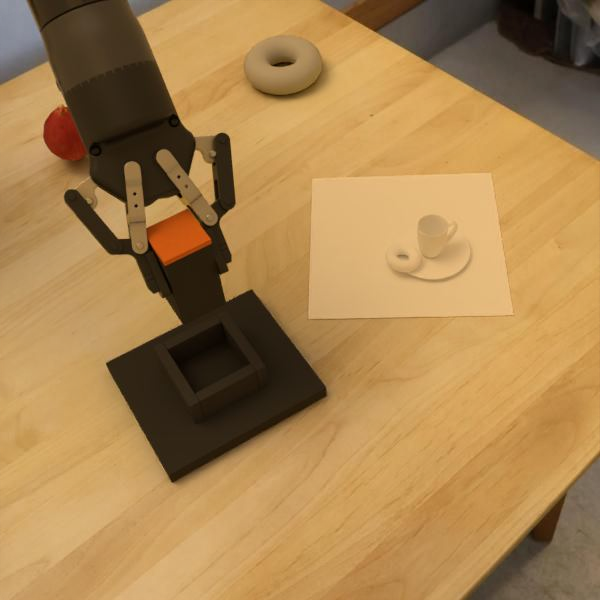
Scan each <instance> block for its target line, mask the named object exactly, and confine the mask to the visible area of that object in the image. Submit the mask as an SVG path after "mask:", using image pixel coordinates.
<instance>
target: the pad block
mask: <svg viewBox="0 0 600 600" xmlns="http://www.w3.org/2000/svg"><path fill="white" fill-rule="evenodd" d="M146 231H147V240H148V247H149V249H150V251H154V254H155V256H156V259H157V261H158V263H159V266H160V268H161V271H162V273H163V275H164V278H165V280H166V282H167V285H168V287H169V290H170V292H171V295H170V296H168V297H166V298H165V300H166V302H167V303H168V304H169V306H170V307H171V309H172V310H173V312H174V313H175V315H176V316H177V318H178V320H179V321H180V323H181V325H182V324H183V325H186V324H188V323H190V322H192V321H194V320H196V319H198V318H200V317H202V316H204V315H206V314H207V313H209V312H211V311H213V310H215V309H217V308H219V307H221V306H223V305H225V304H226V302H227V301H226V296H225V293H224V287H223V284H222V280H221V275H219V273H218V269H217V264H216V260H215V259H216V258H215V254H214V250H213V246H212V242H211V239H210V237H209V236H208V235H207V233H206V232H205V231H204V229H203V228H202V227H201V225H200V224H199V223H198V221H197V220H196V219H195V217H194V216H193V215H192V213H191V212H190V211H189V209H187V208H186V209H184V210H181V211H179V212H177V213H175V214H173V215H171V216H169V217H166V218H164V219H162V220H160V221H158V222H155V223H154V224H152V225H150V226H148V227H147V226H146Z"/></svg>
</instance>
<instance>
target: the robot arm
mask: <svg viewBox="0 0 600 600" xmlns="http://www.w3.org/2000/svg"><path fill="white" fill-rule="evenodd" d="M25 1H26V4H27V6H28V8H29V10H30V13H31V15H32V18H33V20H34V23H35V25H36V27H37V30H38V32H39V34H40V37H41V40H42V44H43V47H44V50H45V54H46V57H47V61H48V64H49V66H50V69H51V71H52V74H53V76H54V79H55V84H56V87H57V88H58V90H59V92H60V93H61V95H62V97H63V100H64V102H65V104H66V107H68V109H69V112H70V114H71V116H72V119H73V121H74V123H75V126H76V128H77V130H78V133H79V135H80V138H81V140H82V142H83V145H84V147H85V149H86V152H87V157H88V161H89V169H88V177H86V178H85V179H84V180H83V181H82V182H80V183H79V184H77V186H75V187H74V188H70V189H67V190H66V191H65V192H64V194H63V201H64V204H65V205H66V206H67V207H68V209H69V210H70V211H71V212H72V213H73V214H74V216H76V218H77V219H78V220H79V222H80V223H81V224H82V225H83V226H84V227H85V228H86V229H87V231H88V232H89V233H90V234H91V235H92V237H93V238H94V239H95V240H96V241H97V243H98V244H100V246H101V247H102V248H103V250H105V252H106V253H107V254H108V255H110V256H122V255H123V256H125V255H126V256H127V255H128V256H131V257H132V258H134V260H135V262H136V264H137V267H138V269H139V271H140V274H141V276H142V279H143V281H144V283H145V286H146V288H147V289H148V291H149V292H151V294H153V295H155V294H157V293H158V294H159V296H160V298H161V299H166V297H168V296H170V295H171V292H170V290H169V287H168V285H167V282H166V280H165V278H164V275H163V273H162V271H161V268H160V266H159V263H158V261H157V259H156V256H155V254H154V251H150V249H149V247H148V240H147V231H146V228H147V224H146V223H147V218H146V217H147V216H146V207H149V206H151V205H153V204H154V203H155V202H157V201H158V200H162V199H170V198H172V197H176V198H177V199H178V200H179V201H180V203H181V204H182V205H183V206H184V207H185V208H186V209H189V211H190V212H191V213H192V215H193V216H194V217H195V219H196V220H197V221H198V223H199V224H200V225H201V227H202V228H203V229H204V231H205V232H206V233H207V235H208V236H209V237H210V239H211V242H212V246H213V250H214V254H215V258H216V259H215V260H216V264H217V269H218V273H219V275H220V276H222V275H223V274H226V273H228V272H229V271H230V270H229V269H230V268H229V267H228V264H230V263H232V262H233V260H232V252H231V250H230V248H229V246H228V243H227V240H226V238H225V235H224V233H223V230H222V227H221V224H220V223H221V220H222V218H223V216H225V215H226V214H227V213H228V212H229V211H230V210H232V209H234V208H235V206H236V204H237V202H236V201H237V200H236V190H235V178H234V167H233V166H234V165H233V157H232V154H233V153H232V144H231V138H230V136H229V134H228V133H226V132H219V133H217V134H215V135H205V136H204V135H202V136H195V135H193V133H192V132H191V131H190V130H189V129H187V127H185V125H184V124H183V123H182V121H181V119H180V116H179V114H178V112H177V108H176V106H175V104H174V102H173V98H172V96H171V94H170V92H169V89H168V87H167V84H166V82H165V79H164V77H163V74H162V72H161V70H160V69H161V68H160V67H159V65H158V62H157V59H156V57H155V55H154V53H153V52H154V51H153V50H152V48H151V45H150V43H149V40H148V38H147V35H146V32H145V31H144V28H143V27H142V25H141V23H140V21H139V20H138V17H137V16H136V14H135V12H134V10H133V9H132V6H131V4H130V2H129V0H25ZM195 151H196V152H197V151H198V152H199V153H200V154H201V156H202V159H203V161H204V162H205V163H206V164H209V165H211V170H212V182H213V193H214V200H213V202H212V203H211V204H210V203H209V202H208V201H207V200H206V198H205V197H204V196H203V194H202V191H200V189H199V188H198V187H197V185H196V184H195V183H194V181H193V180H192V179H191V178H190V173H191V168H192V164H193V159H194V156H195ZM97 188H99V189H101V190H102V191H103V192H105V193H107V194H109V195H110V196H112V197H113V198H115V199H117V201H120V202H122V203H123V204H124V209H125V210H124V211H125V218H126V225H127V232H128V238H118V237H117V236H116V235H115V233H114V232H113V231H112V230H111V228H110V227H109V226H108V225H107V224H106V222H104V220H103V219H102V218H101V217H100V216H99V214H98V213H97V212H96V211H95V209H96V208H97V207H98V202H99V201H98V197H97V196H96V193H95V192H96V189H97Z"/></svg>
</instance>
